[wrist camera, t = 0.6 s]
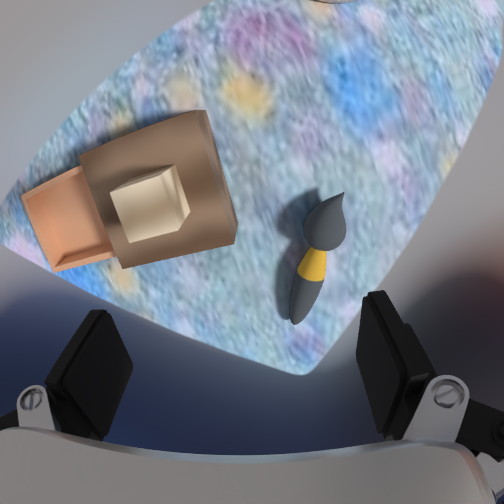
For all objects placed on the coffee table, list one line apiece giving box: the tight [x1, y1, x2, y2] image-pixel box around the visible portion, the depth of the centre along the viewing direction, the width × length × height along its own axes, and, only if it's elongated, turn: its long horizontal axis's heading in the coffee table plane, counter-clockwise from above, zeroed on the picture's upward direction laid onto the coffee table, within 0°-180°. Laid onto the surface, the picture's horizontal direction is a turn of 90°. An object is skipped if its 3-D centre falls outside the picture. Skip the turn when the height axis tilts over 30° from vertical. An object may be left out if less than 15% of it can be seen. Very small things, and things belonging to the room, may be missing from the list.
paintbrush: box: [289, 192, 346, 325], centre depth 37 cm, size 20×5×5 cm, turn 175°
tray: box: [21, 165, 116, 273], centre depth 35 cm, size 12×13×4 cm
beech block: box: [110, 165, 190, 243], centre depth 27 cm, size 5×5×5 cm
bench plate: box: [78, 110, 238, 269], centre depth 32 cm, size 14×14×6 cm
